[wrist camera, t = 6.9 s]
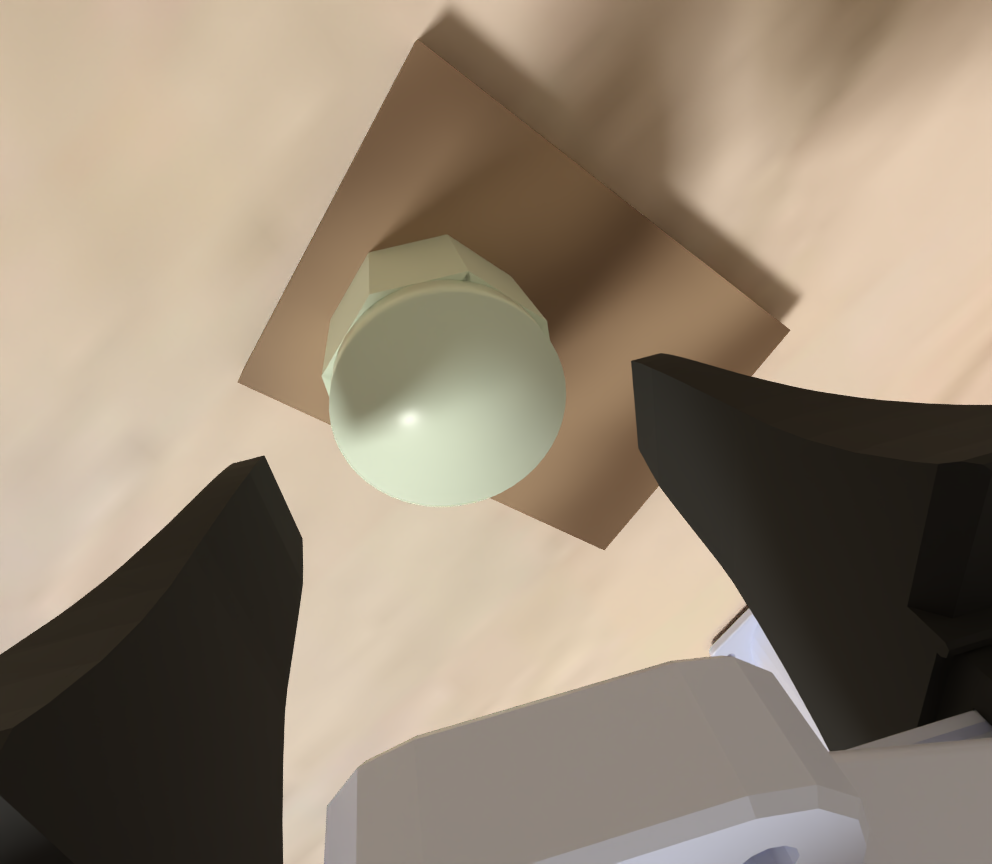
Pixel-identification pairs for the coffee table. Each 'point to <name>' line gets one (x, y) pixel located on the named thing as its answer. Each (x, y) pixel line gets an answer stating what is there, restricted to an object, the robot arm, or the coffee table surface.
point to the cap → (441, 376)
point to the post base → (518, 281)
